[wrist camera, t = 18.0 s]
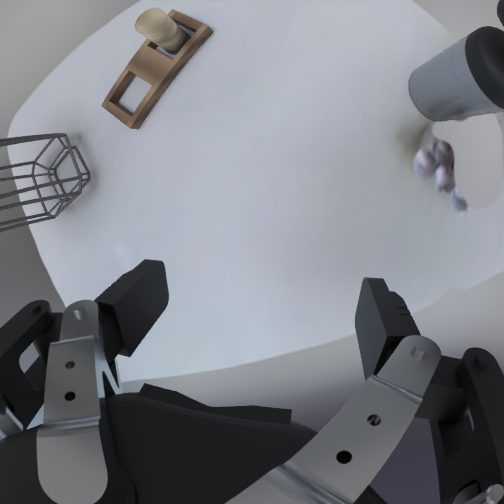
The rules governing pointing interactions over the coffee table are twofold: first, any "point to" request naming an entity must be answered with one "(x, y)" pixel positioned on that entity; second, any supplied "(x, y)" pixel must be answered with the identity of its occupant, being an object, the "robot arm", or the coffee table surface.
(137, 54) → the socket block
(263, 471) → the robot arm
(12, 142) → the geometric lantern
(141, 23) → the banded peg
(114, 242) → the coffee table surface
